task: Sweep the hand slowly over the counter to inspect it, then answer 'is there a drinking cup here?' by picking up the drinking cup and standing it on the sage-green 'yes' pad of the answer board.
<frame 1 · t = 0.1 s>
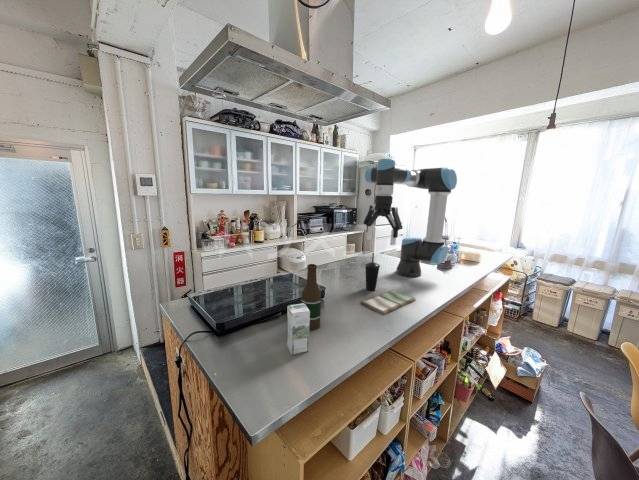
hand: (380, 242, 116), 28 cm above the countertop, tool pointing down, fingers open, 13 cm apart
beer bottle: (310, 326, 96), on the countertop
drinking cup: (370, 290, 132), on the countertop
syrup box: (297, 349, 81), on the countertop
answer board: (388, 302, 118), on the countertop
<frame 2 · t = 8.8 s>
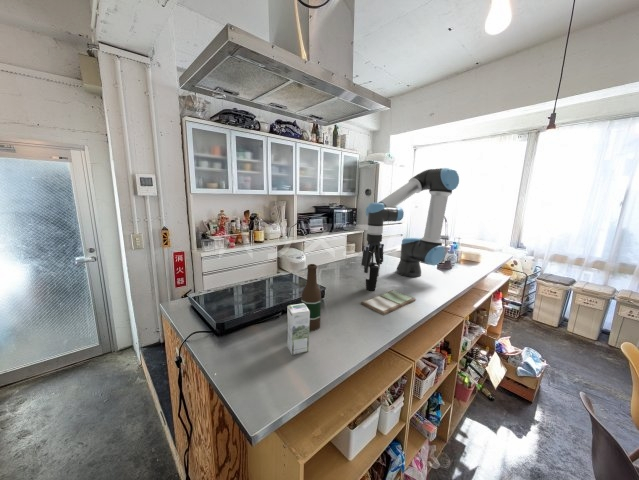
hand: (371, 277, 131), 7 cm above the countertop, tool pointing down, fingers closed on drinking cup, 7 cm apart
drinking cup: (370, 290, 132), on the countertop, touching gripper
everything else where it was.
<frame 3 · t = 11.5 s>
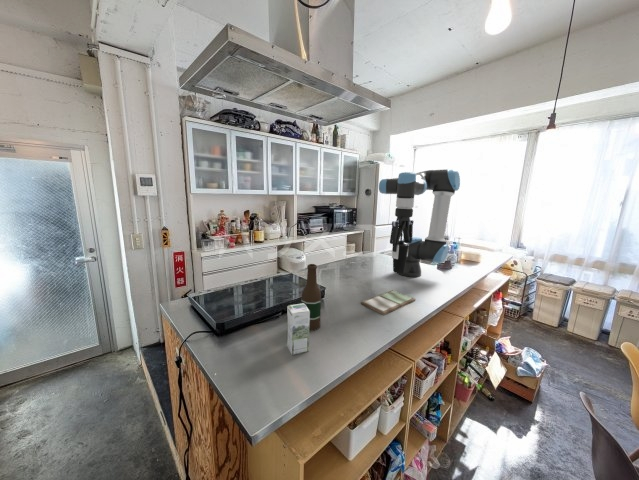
hand: (399, 257, 118), 21 cm above the countertop, tool pointing down, fingers closed on drinking cup, 7 cm apart
drinking cup: (398, 271, 119), point 14 cm above the countertop, touching gripper
everything else where it was.
when the fingers open (10 cm above the countertop, at t = 14.3 s): drinking cup drops 1 cm, resting on answer board.
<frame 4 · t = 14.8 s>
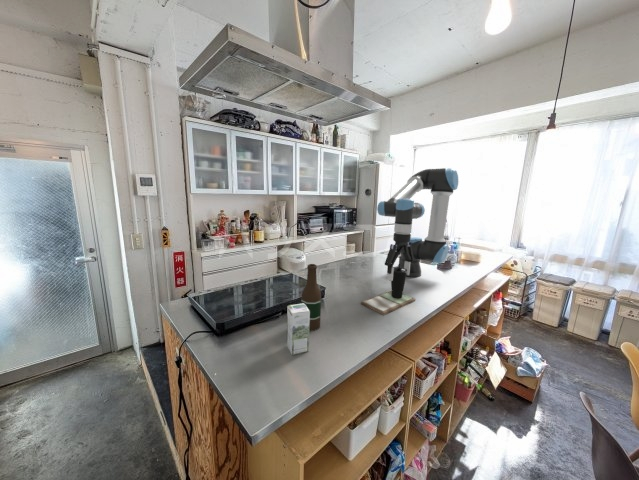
hand: (398, 277, 120), 11 cm above the countertop, tool pointing down, fingers open, 13 cm apart
drinking cup: (396, 296, 122), point 1 cm above the countertop, touching answer board
everything else where it was.
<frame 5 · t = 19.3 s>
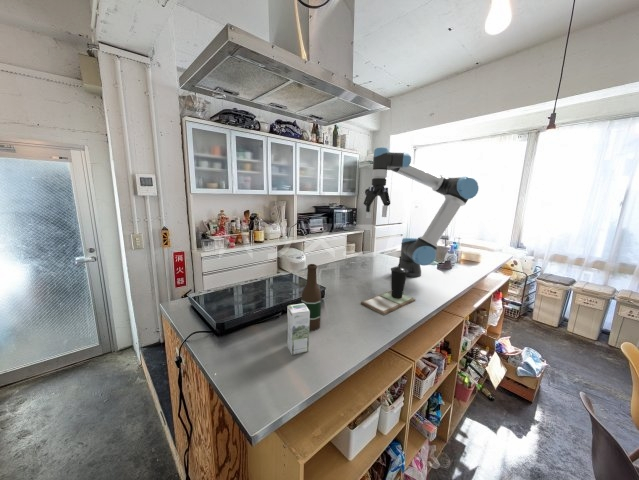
hand: (376, 217, 140), 37 cm above the countertop, tool pointing down, fingers open, 13 cm apart
nothing on the countertop moved.
at the end: drinking cup inside the target area on the answer board (0.2 cm from its centre), point 1.1 cm above the answer board's base; drinking cup tilted 0°; the gripper is holding nothing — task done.
